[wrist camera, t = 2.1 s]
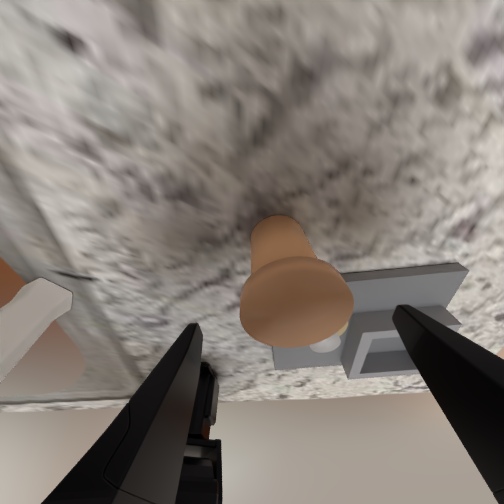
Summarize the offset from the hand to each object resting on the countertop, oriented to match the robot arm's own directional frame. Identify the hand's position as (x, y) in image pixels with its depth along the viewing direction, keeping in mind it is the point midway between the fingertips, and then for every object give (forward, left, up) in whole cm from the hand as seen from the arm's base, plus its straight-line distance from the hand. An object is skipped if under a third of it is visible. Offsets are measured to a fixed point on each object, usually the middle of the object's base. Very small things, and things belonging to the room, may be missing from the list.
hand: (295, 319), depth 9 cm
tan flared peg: (0, 0, -7) cm, 7 cm away
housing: (+7, -10, -7) cm, 14 cm away
